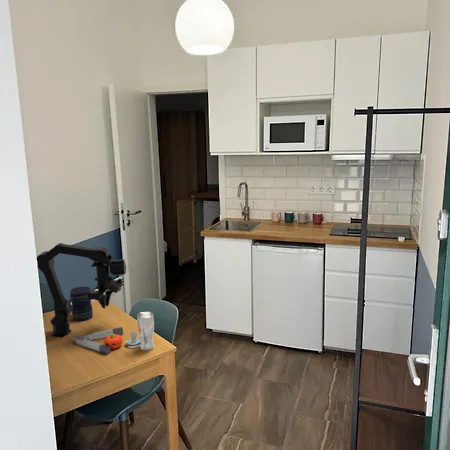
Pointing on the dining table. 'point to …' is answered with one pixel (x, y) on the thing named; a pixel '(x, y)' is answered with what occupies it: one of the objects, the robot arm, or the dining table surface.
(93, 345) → the tong base
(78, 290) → the storage jar
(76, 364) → the dining table surface
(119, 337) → the pumpkin
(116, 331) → the tong leg
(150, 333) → the silver drink can
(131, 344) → the pacifier
